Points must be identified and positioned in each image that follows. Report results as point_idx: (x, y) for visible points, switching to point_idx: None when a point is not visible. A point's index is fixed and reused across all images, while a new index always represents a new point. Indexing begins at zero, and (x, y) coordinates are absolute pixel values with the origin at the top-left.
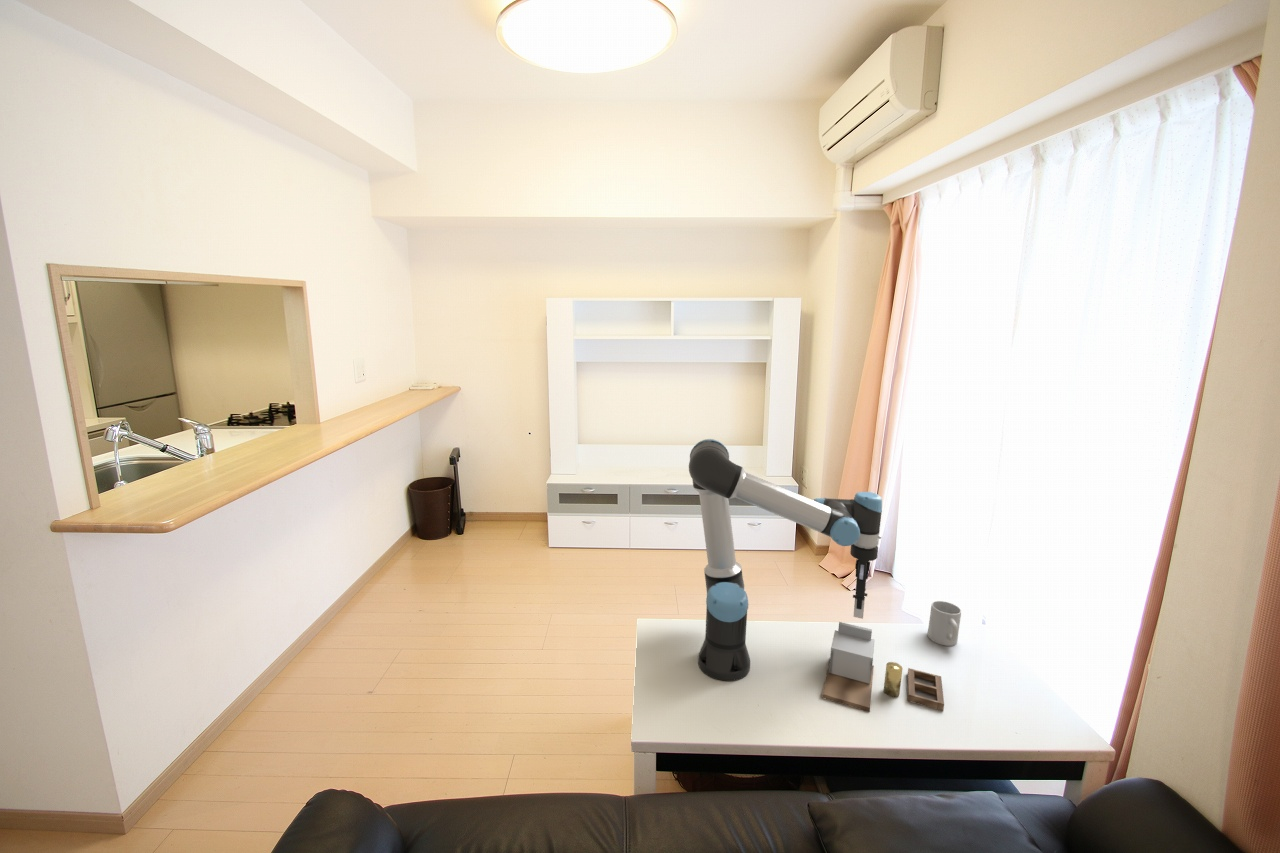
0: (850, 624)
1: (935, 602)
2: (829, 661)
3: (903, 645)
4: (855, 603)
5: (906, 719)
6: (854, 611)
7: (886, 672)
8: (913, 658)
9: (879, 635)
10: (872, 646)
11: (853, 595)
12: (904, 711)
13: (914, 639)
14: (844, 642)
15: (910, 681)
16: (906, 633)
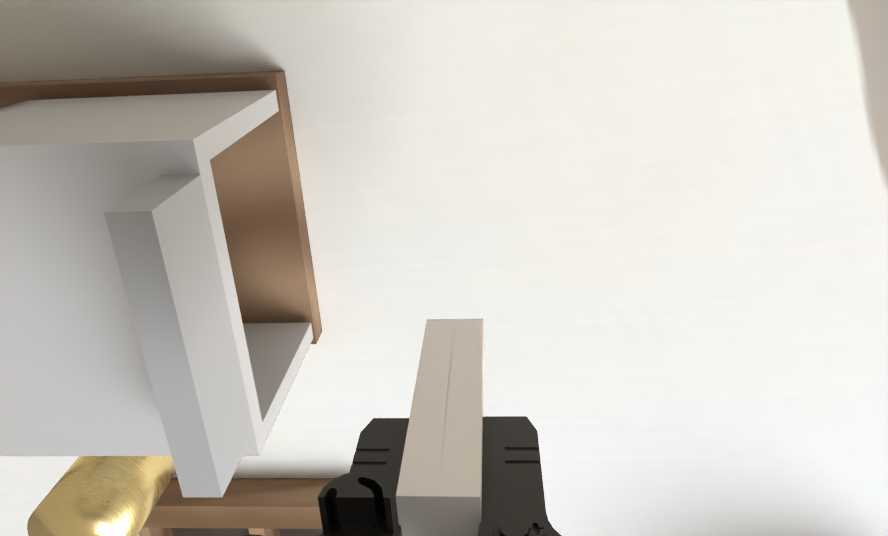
0: (179, 323)
1: None
2: (179, 80)
3: (682, 462)
4: (410, 435)
5: (9, 472)
6: (419, 362)
7: (68, 473)
8: (557, 503)
9: (756, 342)
10: (143, 446)
11: (362, 502)
12: (59, 466)
13: (780, 511)
14: (35, 251)
15: (250, 514)
16: (843, 476)
